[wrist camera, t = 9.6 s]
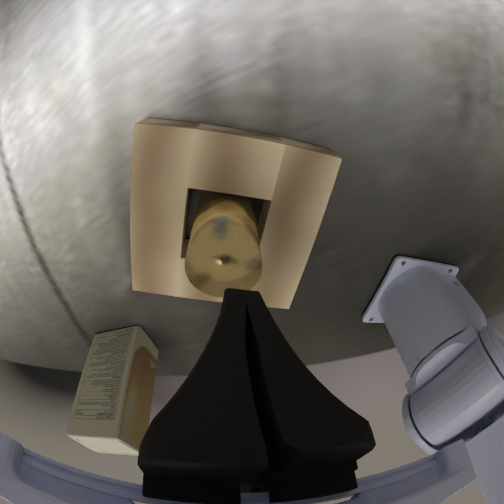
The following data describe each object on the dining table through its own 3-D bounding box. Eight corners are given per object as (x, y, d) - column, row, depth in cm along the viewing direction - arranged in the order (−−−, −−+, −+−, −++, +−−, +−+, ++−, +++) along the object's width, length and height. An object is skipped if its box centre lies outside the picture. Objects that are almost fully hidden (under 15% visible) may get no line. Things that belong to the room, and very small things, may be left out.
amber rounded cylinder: (260, 190, 19) (273, 245, 13) (243, 236, 21) (248, 303, 15) (205, 175, 18) (193, 225, 13) (192, 224, 20) (178, 288, 15)
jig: (329, 148, 18) (342, 158, 16) (283, 288, 24) (288, 308, 22) (147, 117, 16) (134, 123, 14) (140, 269, 22) (132, 290, 20)
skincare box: (115, 356, 29) (93, 452, 18) (94, 332, 26) (62, 434, 16) (162, 350, 28) (148, 458, 18) (142, 323, 26) (117, 441, 15)
